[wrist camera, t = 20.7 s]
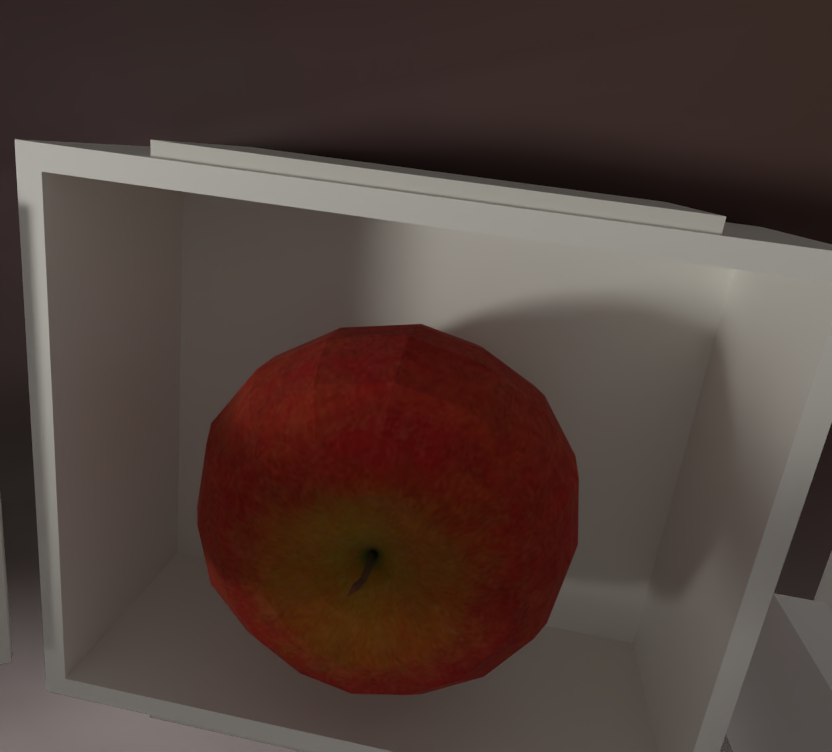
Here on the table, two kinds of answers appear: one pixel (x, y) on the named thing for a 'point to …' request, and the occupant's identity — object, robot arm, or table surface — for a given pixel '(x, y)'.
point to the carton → (453, 314)
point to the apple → (389, 509)
